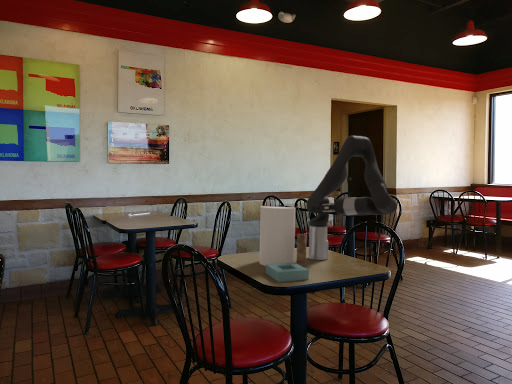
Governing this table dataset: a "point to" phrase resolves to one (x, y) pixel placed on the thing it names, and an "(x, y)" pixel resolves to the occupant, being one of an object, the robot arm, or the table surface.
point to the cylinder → (277, 235)
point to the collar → (287, 272)
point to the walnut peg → (301, 249)
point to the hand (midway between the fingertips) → (315, 208)
